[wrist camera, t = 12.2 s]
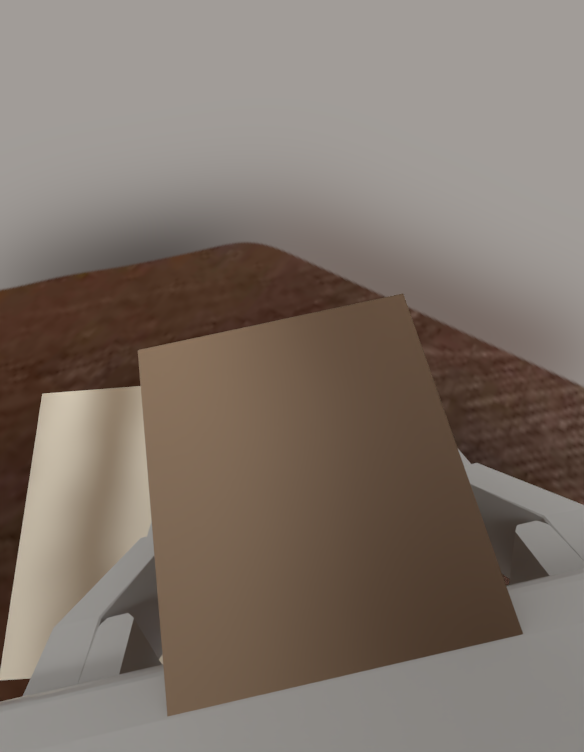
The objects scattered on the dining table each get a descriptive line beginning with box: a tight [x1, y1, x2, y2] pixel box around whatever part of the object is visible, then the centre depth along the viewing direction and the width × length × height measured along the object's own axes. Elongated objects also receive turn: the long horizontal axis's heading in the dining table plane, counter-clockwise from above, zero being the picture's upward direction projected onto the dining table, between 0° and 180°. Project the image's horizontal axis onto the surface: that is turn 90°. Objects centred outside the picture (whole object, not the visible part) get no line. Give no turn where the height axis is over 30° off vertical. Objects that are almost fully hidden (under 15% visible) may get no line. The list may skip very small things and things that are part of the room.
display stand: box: [0, 386, 163, 680], centre depth 20 cm, size 20×13×3 cm, turn 94°
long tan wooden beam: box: [138, 294, 523, 717], centre depth 10 cm, size 4×5×11 cm
